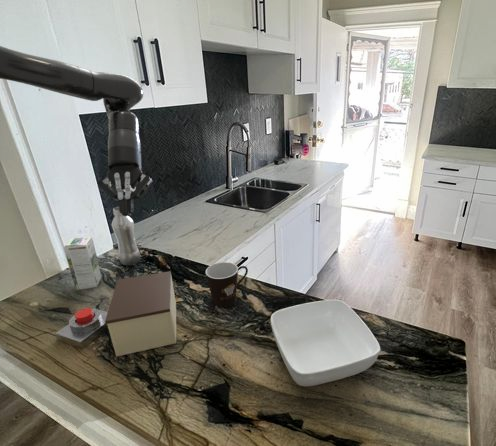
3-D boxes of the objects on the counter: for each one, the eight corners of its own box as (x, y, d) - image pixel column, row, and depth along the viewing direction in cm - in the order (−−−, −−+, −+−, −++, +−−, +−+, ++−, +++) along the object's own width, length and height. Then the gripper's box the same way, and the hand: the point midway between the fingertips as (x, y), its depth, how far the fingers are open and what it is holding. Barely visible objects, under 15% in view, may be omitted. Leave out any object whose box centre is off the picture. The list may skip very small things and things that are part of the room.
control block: (82, 349, 72) (77, 335, 70) (57, 340, 74) (52, 327, 73) (118, 321, 81) (115, 308, 79) (95, 314, 83) (91, 302, 81)
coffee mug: (209, 312, 84) (205, 280, 80) (208, 293, 92) (205, 264, 88) (252, 305, 87) (250, 274, 83) (248, 288, 95) (246, 259, 91)
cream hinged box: (176, 343, 74) (170, 309, 70) (116, 356, 70) (106, 321, 66) (176, 303, 87) (171, 273, 84) (125, 313, 83) (118, 282, 80)
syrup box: (81, 280, 97) (69, 238, 92) (103, 277, 99) (92, 235, 93) (75, 290, 92) (62, 246, 87) (98, 287, 94) (86, 244, 88)
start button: (84, 325, 74) (82, 319, 73) (73, 321, 75) (71, 316, 74) (97, 316, 77) (96, 310, 76) (86, 312, 78) (85, 306, 77)
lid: (170, 311, 69) (169, 308, 69) (105, 324, 65) (104, 321, 65) (171, 273, 84) (170, 271, 83) (118, 282, 80) (117, 279, 79)
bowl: (340, 317, 83) (342, 293, 80) (385, 379, 66) (390, 351, 63) (265, 335, 77) (264, 310, 74) (293, 409, 59) (293, 380, 56)
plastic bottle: (133, 256, 112) (122, 203, 104) (146, 261, 108) (135, 207, 101) (116, 264, 106) (102, 209, 99) (128, 270, 103) (115, 213, 95)
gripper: (89, 146, 77) (90, 214, 74) (145, 142, 79) (148, 208, 75) (105, 159, 84) (106, 221, 81) (156, 154, 86) (159, 215, 82)
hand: (126, 215), depth 78 cm, fingers closed
